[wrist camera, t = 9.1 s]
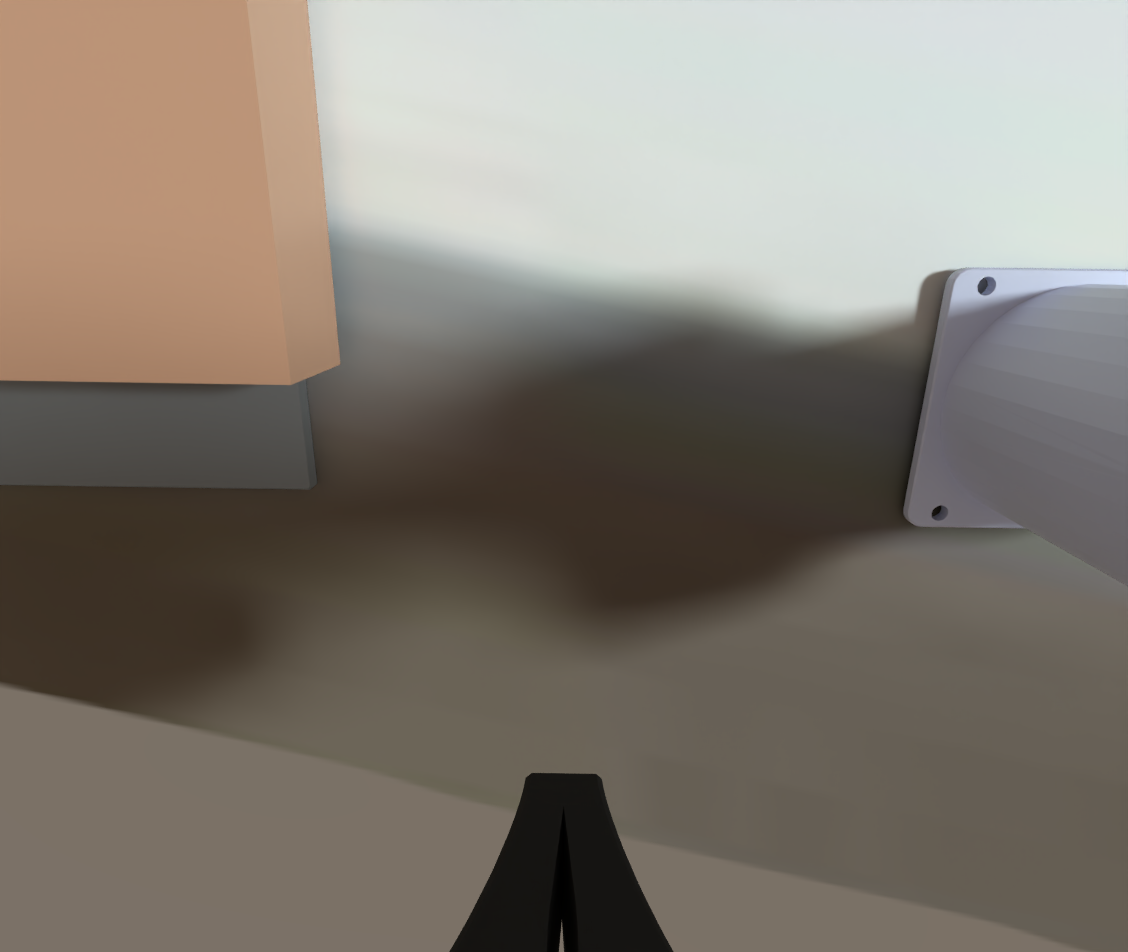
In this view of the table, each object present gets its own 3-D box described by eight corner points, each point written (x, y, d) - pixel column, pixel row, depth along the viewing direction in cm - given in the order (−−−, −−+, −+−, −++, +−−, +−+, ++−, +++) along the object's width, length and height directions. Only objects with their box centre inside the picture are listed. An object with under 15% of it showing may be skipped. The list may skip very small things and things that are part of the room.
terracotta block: (233, -114, 13) (-168, -120, 13) (291, 384, 16) (-32, 379, 16) (304, -34, 16) (-13, -38, 16) (340, 364, 19) (74, 359, 19)
